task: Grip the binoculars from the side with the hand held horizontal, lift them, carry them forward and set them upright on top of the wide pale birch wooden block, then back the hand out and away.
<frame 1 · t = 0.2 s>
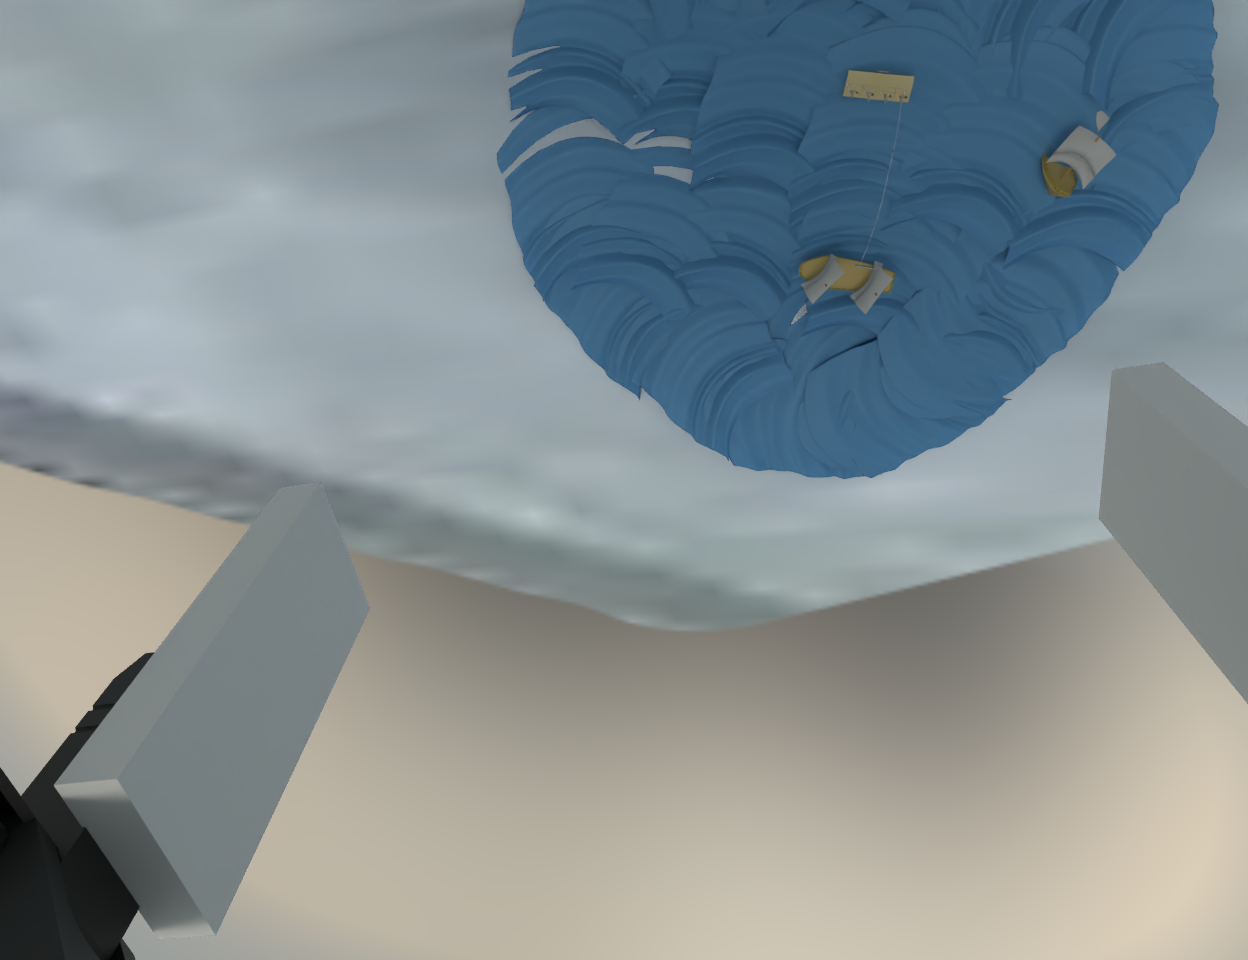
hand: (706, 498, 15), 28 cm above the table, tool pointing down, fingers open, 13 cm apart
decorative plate: (836, 171, 40), on the table
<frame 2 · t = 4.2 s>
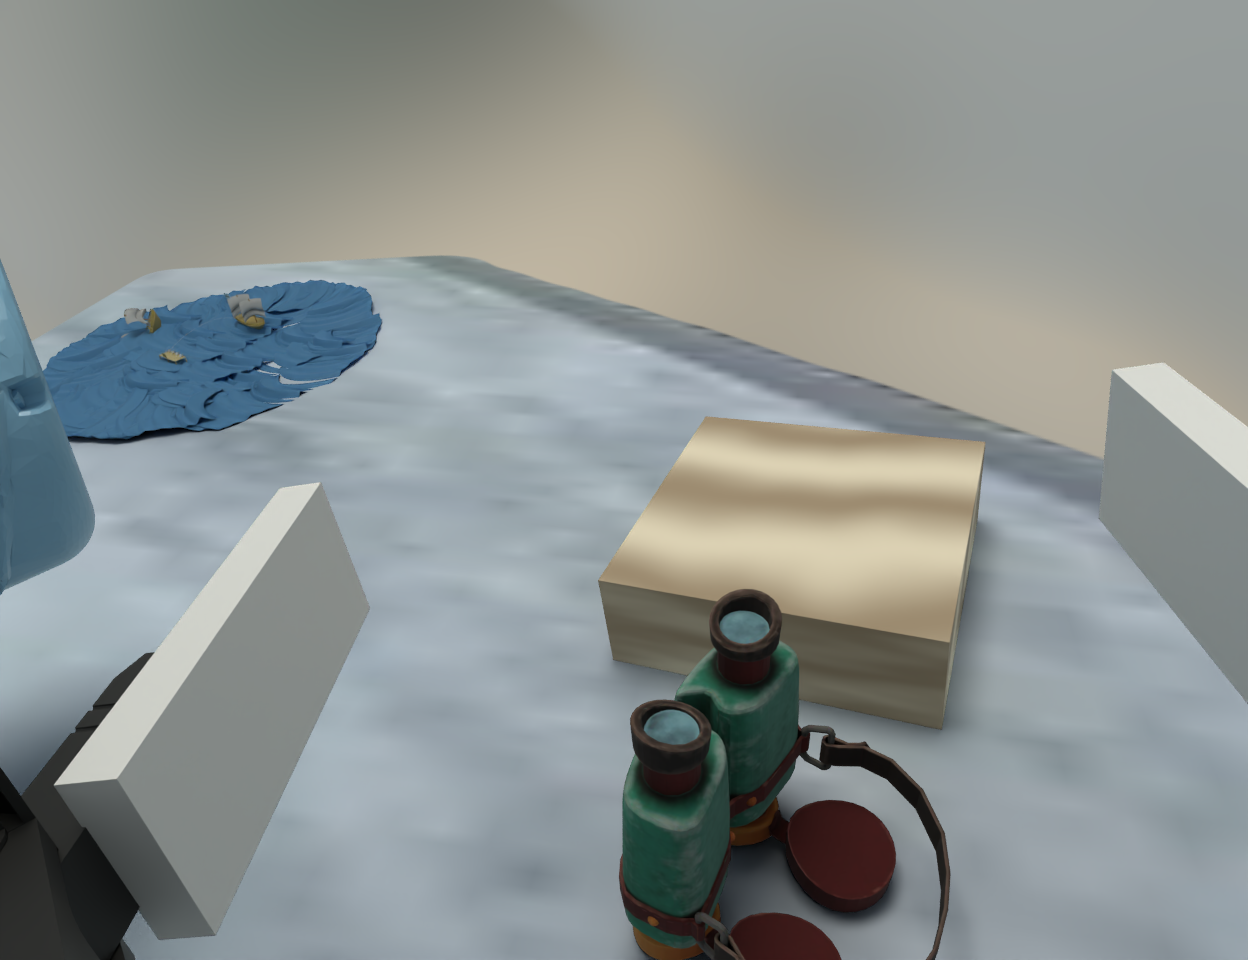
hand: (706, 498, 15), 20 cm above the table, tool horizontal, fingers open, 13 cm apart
binoculars: (790, 913, 30), on the table
birch block: (805, 592, 43), on the table
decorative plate: (224, 361, 78), on the table
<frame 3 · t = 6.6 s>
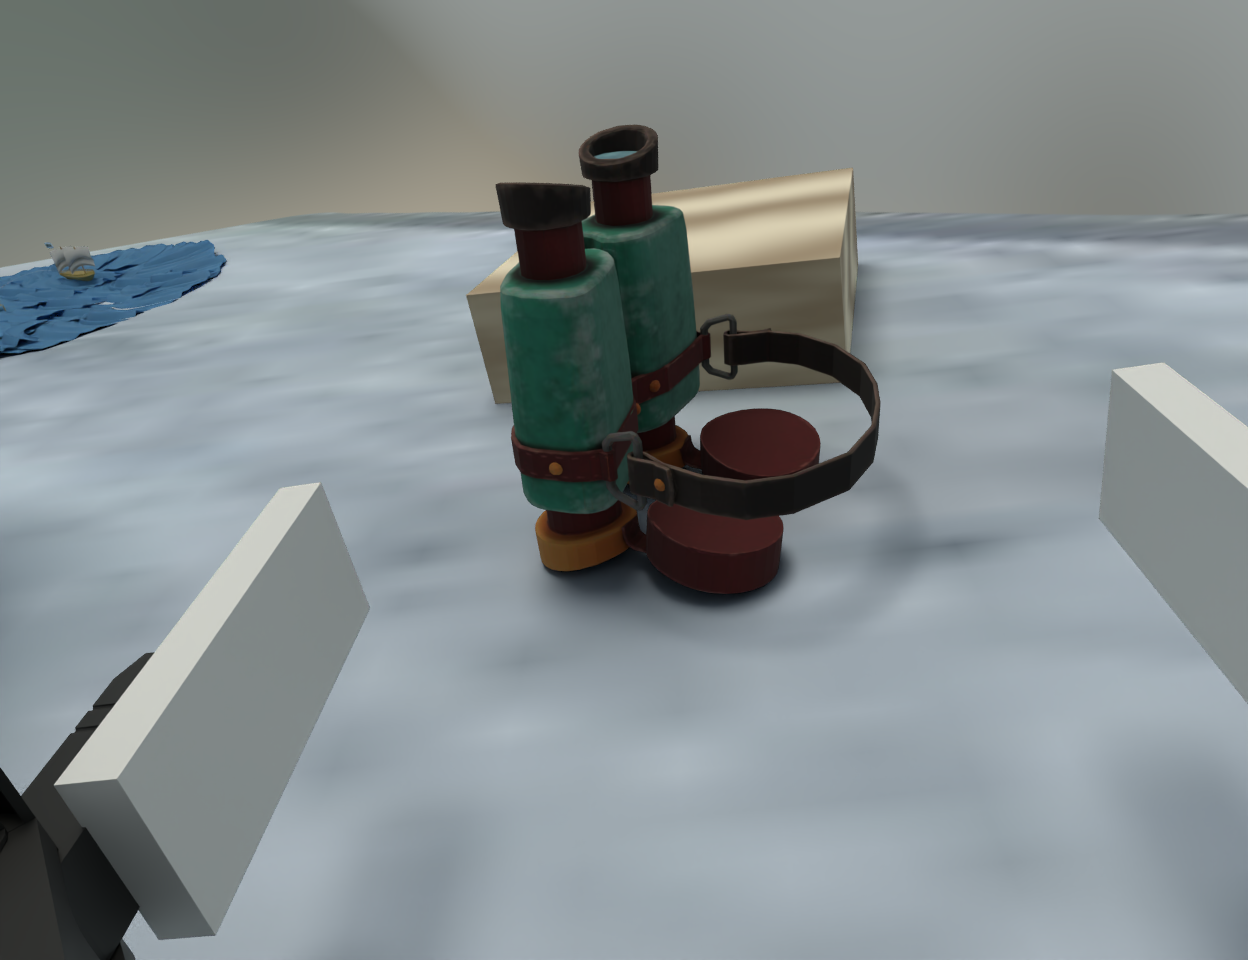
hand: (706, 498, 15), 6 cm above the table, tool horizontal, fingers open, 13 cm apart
binoculars: (716, 522, 26), on the table
birch block: (694, 335, 40), on the table
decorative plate: (50, 314, 71), on the table
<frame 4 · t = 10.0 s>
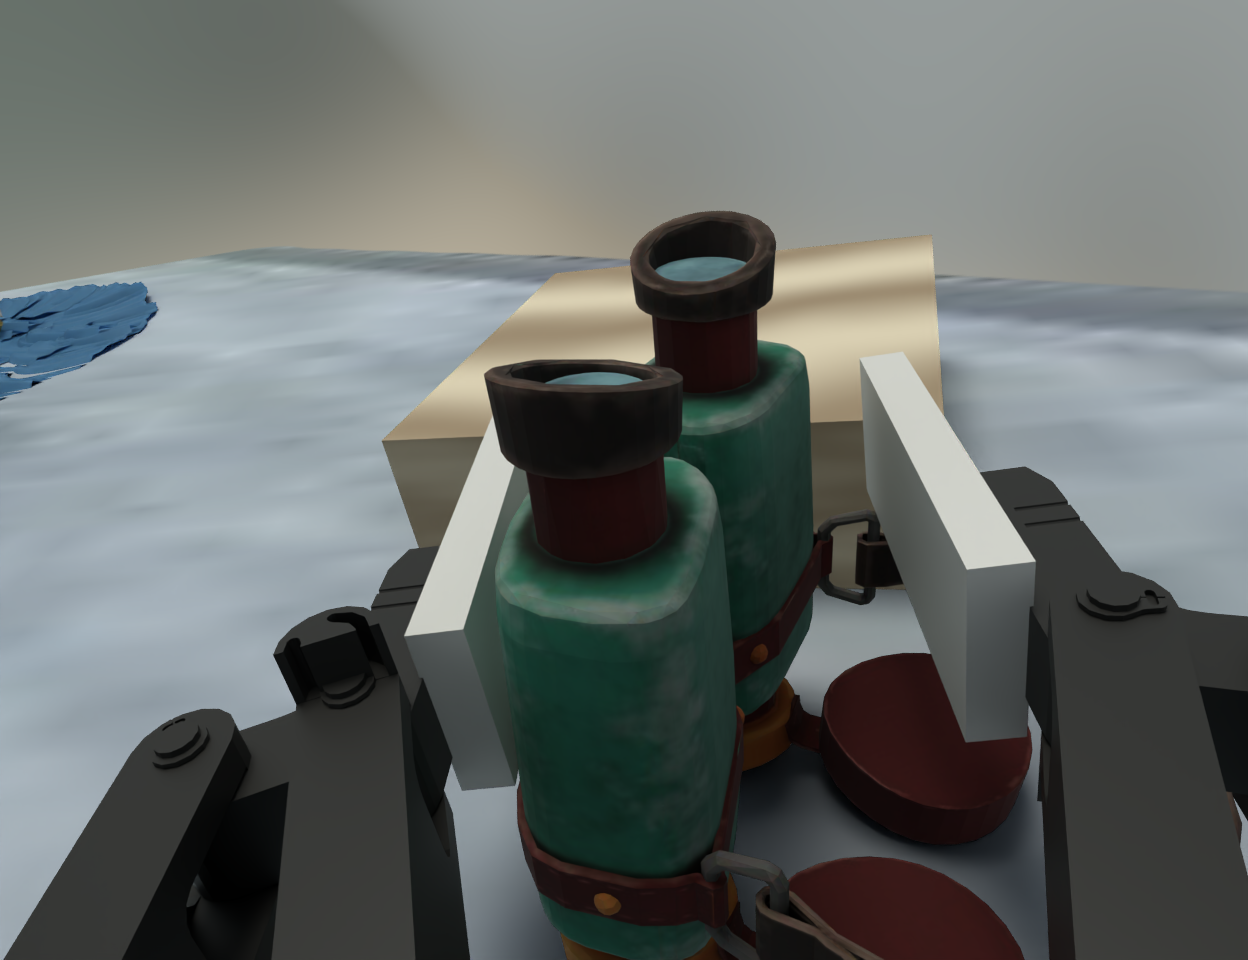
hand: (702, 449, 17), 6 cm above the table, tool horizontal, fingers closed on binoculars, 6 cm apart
binoculars: (859, 869, 16), on the table, touching gripper
birch block: (713, 467, 30), on the table
when the fingers open (12 cm above the table, at t = 15.1 s): binoculars drops 2 cm, point 4 cm above the table.
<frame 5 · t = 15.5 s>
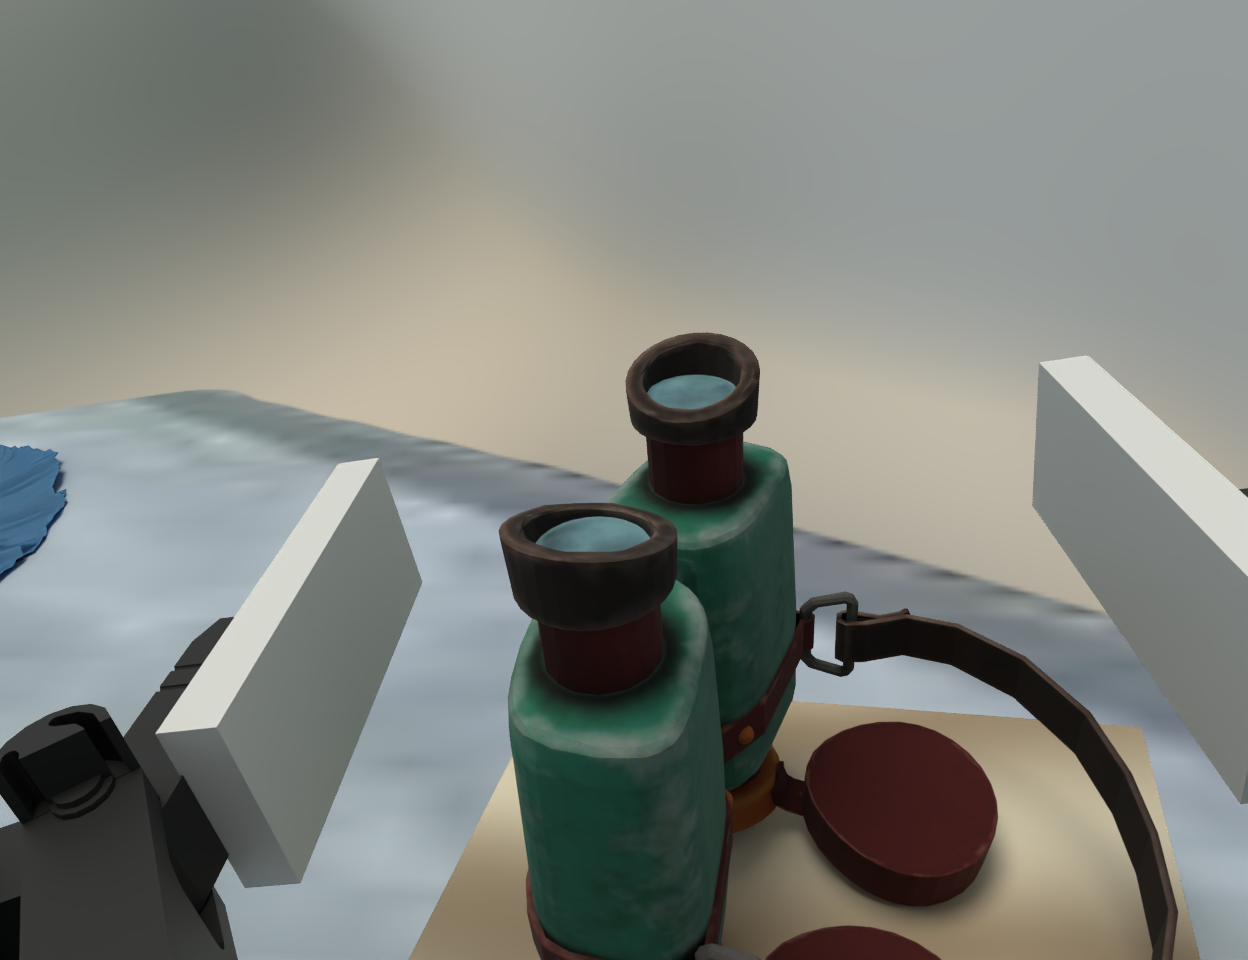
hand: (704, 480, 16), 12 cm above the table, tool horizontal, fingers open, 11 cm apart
binoculars: (839, 929, 17), point 4 cm above the table
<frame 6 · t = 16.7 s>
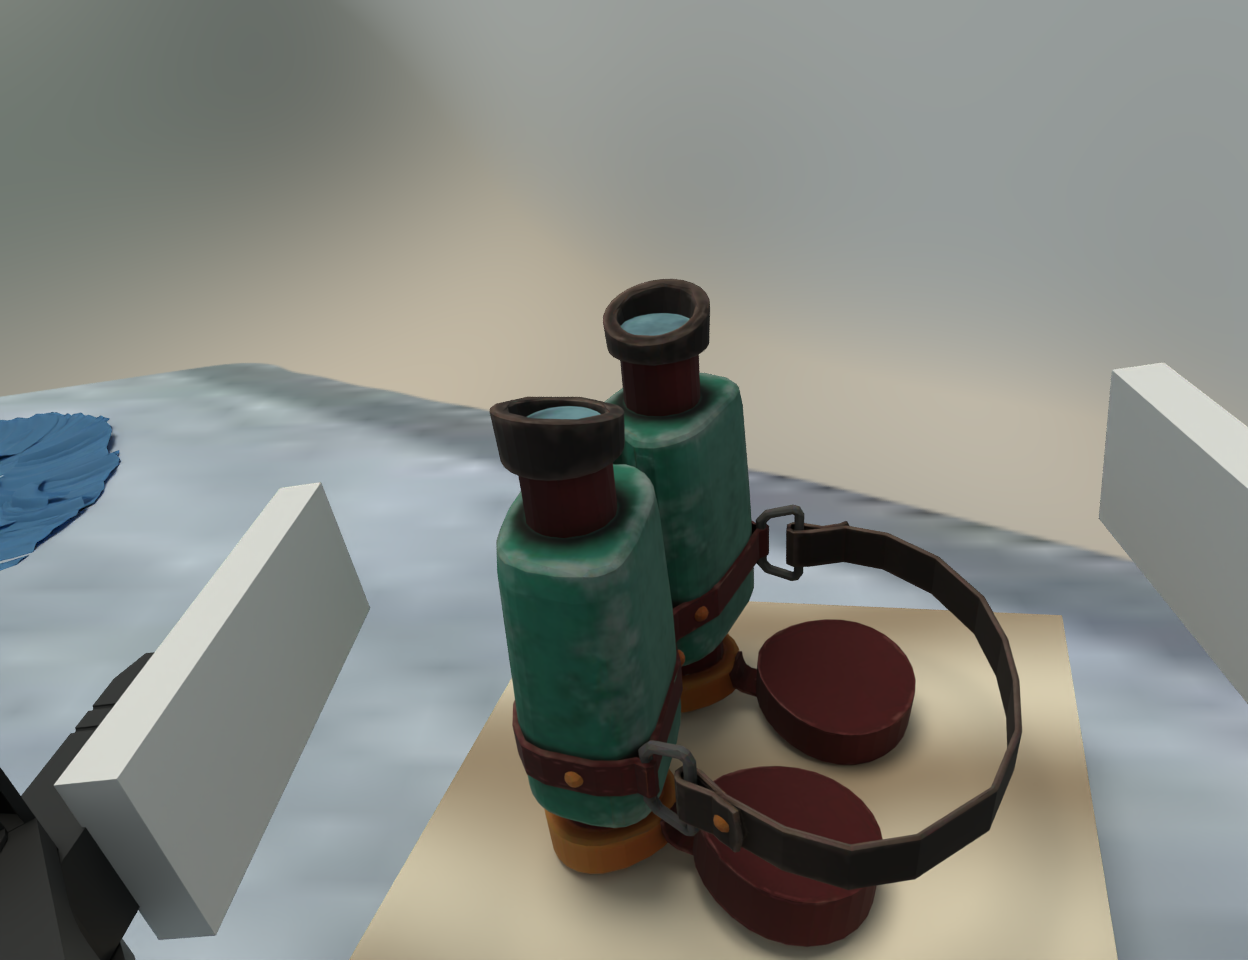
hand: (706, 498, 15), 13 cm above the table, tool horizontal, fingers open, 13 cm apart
binoculars: (780, 783, 20), point 4 cm above the table, touching birch block
birch block: (763, 941, 22), on the table, touching binoculars
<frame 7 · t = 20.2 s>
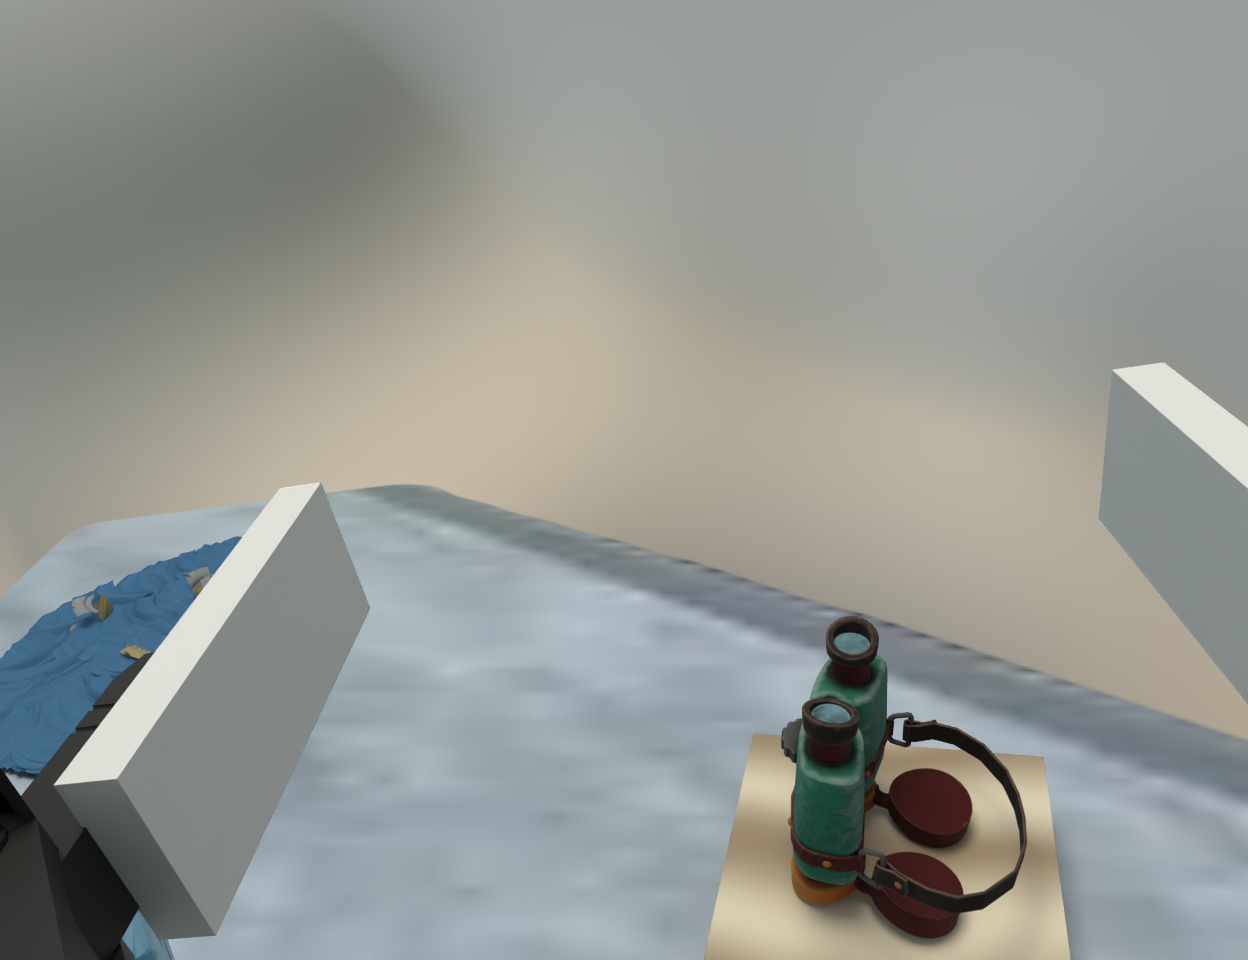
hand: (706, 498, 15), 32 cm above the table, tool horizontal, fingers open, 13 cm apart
binoculars: (904, 857, 40), point 4 cm above the table, touching birch block
birch block: (889, 934, 42), on the table, touching binoculars
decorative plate: (189, 643, 74), on the table
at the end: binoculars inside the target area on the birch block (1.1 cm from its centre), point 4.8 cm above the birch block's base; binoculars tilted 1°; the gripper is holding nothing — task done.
